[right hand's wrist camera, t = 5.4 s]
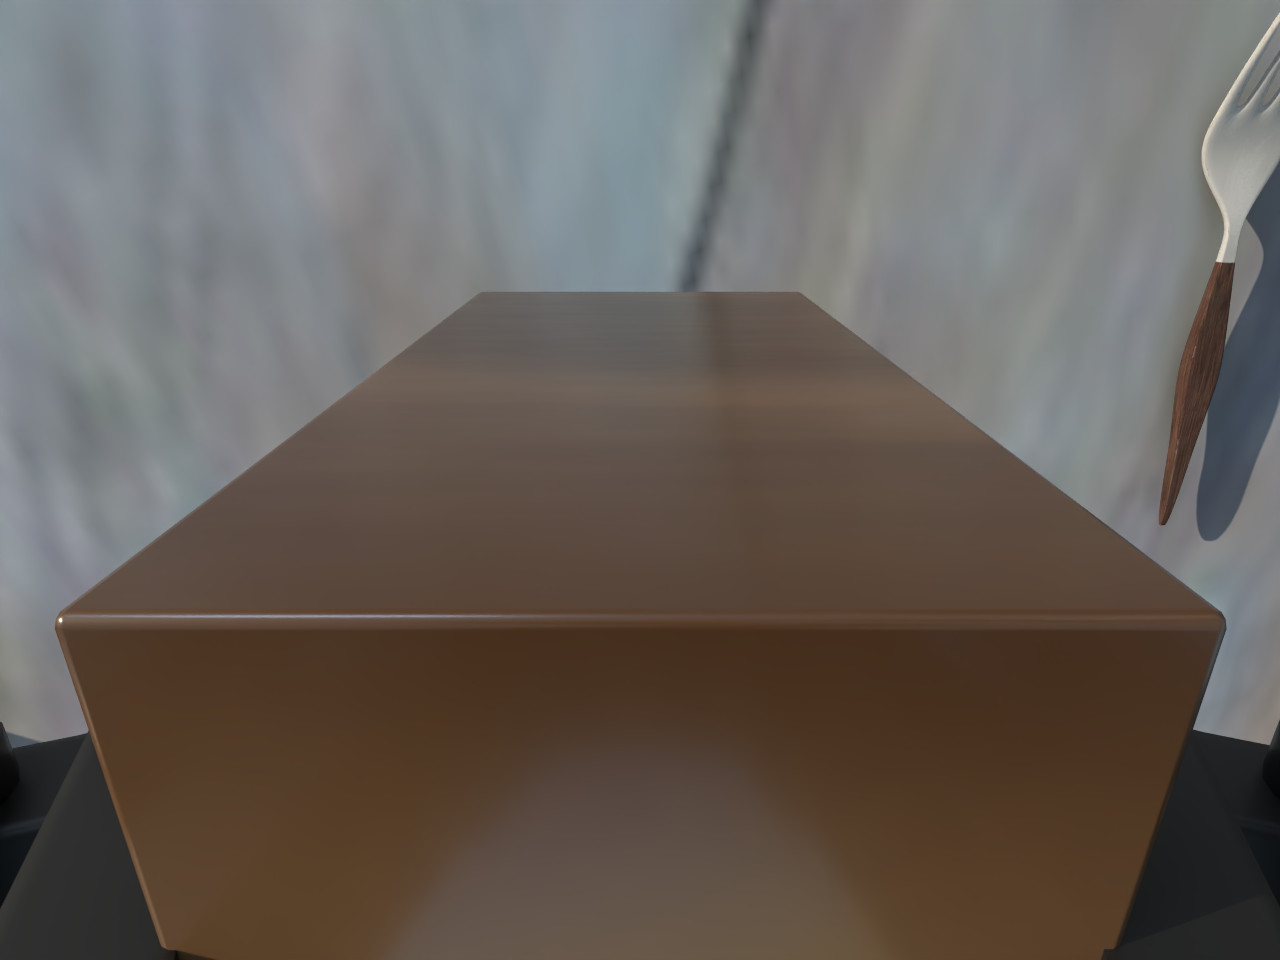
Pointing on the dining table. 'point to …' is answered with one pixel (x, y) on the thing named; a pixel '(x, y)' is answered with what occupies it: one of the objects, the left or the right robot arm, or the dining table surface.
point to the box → (640, 663)
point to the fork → (1222, 251)
